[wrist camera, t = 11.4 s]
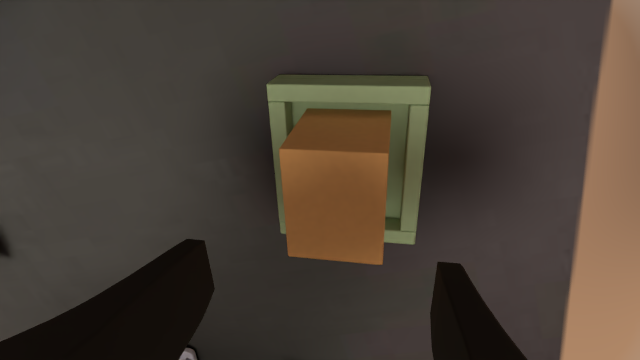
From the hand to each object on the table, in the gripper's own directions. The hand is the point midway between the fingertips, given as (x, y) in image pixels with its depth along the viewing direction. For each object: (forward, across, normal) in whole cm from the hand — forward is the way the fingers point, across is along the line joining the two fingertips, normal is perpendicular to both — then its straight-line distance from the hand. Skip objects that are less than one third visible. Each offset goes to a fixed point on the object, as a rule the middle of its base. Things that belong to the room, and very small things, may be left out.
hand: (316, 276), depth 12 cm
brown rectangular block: (+9, 0, 0) cm, 9 cm away
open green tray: (+9, 0, 0) cm, 9 cm away
